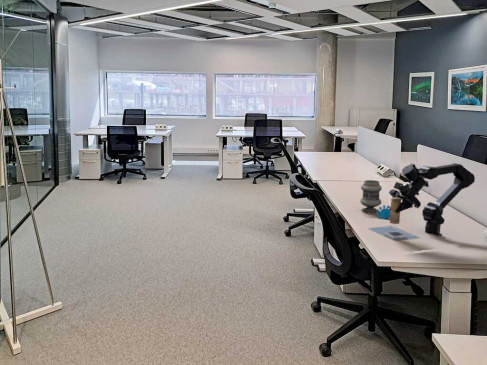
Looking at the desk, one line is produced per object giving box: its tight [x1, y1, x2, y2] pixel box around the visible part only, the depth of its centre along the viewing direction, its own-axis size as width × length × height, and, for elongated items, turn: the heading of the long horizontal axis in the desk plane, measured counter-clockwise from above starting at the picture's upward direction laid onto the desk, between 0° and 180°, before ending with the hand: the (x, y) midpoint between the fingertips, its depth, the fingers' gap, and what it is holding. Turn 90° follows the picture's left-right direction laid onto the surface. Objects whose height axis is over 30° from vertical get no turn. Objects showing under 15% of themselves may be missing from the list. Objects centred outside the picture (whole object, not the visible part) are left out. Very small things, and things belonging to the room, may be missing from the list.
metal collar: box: [383, 231, 407, 241], centre depth 233 cm, size 8×8×2 cm
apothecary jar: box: [359, 179, 382, 214], centre depth 287 cm, size 12×12×18 cm
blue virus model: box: [376, 205, 391, 221], centre depth 269 cm, size 11×6×10 cm
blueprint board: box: [367, 225, 420, 242], centre depth 240 cm, size 15×22×1 cm
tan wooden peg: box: [389, 197, 402, 225], centre depth 232 cm, size 4×4×12 cm
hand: (392, 211), depth 232 cm, fingers closed on tan wooden peg, 4 cm apart
